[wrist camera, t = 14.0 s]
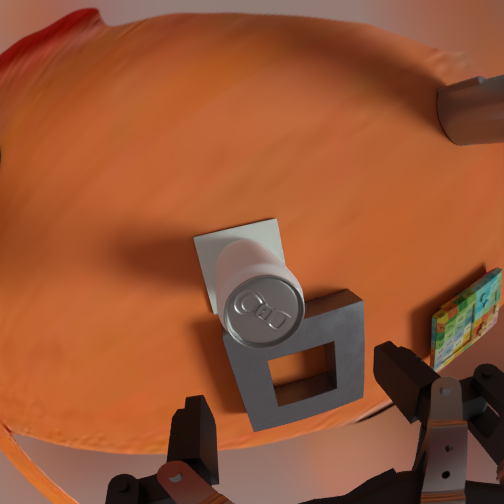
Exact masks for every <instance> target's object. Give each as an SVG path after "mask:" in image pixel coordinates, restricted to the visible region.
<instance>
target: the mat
mask: <svg viewBox="0 0 504 504" xmlns="http://www.w3.org/2000/svg"><path fill="white" fill-rule="evenodd" d="M241 239H251V240H255V241H258V242H260V243H262V244H263V245H265V246H266V247H267V248H268V249H269V250H270V251H271V252H272V253H273V254H274V255H275V256H276V257H277V258H278V259H279V260H280V261H281V262H282V263H283V264H284V265H285V260H284V255H283V249H282V244H281V239H280V234H279V228H278V223H277V219H276V218H274V219H269V220H265V221H260V222H256V223H251V224H247V225H243V226H238V227H234V228H230V229H225V230H221V231H217V232H213V233H209V234H204V235H200V236H196V237H194V242H195V246H196V250H197V254H198V258H199V262H200V266H201V269H202V273H203V277H204V280H205V284H206V288H207V291H208V295H209V298H210V302H211V305H212V309H213V312H214V315H215V314H218V312H217V303H216V282H215V266H216V262H217V259H218V256H219V254H220V253H221V251H222V250H223V249H224V248H225V247H226V246H227V245H228V244H230V243H232V242H234V241H237V240H241Z"/></svg>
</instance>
